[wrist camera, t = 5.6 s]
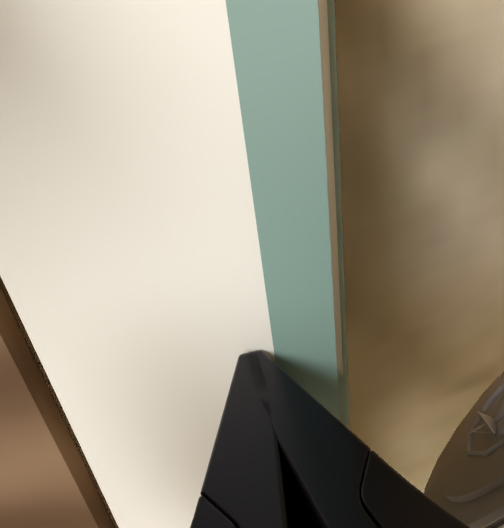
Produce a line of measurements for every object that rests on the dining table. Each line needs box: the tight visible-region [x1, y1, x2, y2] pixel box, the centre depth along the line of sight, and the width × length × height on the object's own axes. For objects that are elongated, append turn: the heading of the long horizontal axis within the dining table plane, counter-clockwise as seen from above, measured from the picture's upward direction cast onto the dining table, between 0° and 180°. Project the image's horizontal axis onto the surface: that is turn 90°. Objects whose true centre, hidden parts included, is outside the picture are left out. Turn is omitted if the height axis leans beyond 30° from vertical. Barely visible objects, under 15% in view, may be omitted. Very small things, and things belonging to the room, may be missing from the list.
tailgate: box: [0, 0, 350, 528], centre depth 10 cm, size 19×1×8 cm
